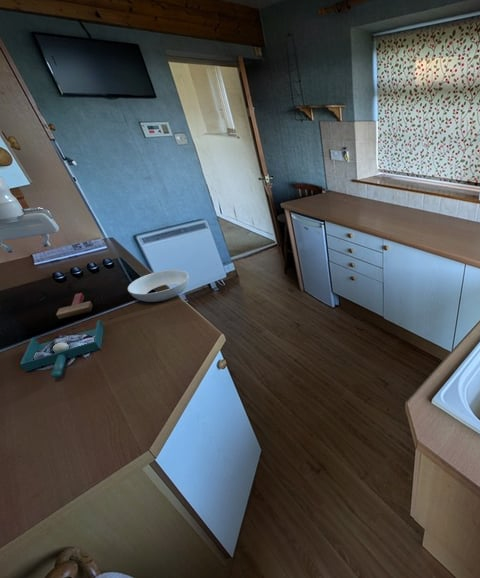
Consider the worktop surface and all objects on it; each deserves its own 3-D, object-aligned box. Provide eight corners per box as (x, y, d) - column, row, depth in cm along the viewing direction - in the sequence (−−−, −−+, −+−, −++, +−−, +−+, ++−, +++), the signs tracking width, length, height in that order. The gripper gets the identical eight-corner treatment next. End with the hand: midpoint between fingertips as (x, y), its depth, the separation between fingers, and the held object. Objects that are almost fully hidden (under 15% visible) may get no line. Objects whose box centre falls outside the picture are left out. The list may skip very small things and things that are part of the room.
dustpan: (38, 345, 97) (31, 337, 95) (104, 327, 106) (99, 319, 104) (17, 395, 80) (9, 386, 78) (97, 368, 89) (91, 360, 87)
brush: (93, 314, 112) (88, 306, 110) (61, 322, 108) (56, 315, 106) (97, 297, 123) (93, 290, 121) (68, 304, 118) (63, 296, 116)
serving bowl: (190, 302, 120) (184, 287, 116) (128, 313, 113) (120, 298, 109) (196, 279, 136) (191, 265, 133) (142, 287, 129) (135, 274, 126)
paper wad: (53, 347, 94) (61, 355, 94) (47, 347, 91) (55, 356, 91) (66, 339, 95) (74, 348, 96) (60, 339, 92) (69, 348, 93)
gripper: (48, 204, 106) (69, 240, 113) (-38, 214, 96) (-9, 252, 103) (44, 208, 102) (66, 245, 109) (-47, 219, 91) (-16, 258, 99)
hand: (29, 248), depth 106 cm, fingers open, 8 cm apart
